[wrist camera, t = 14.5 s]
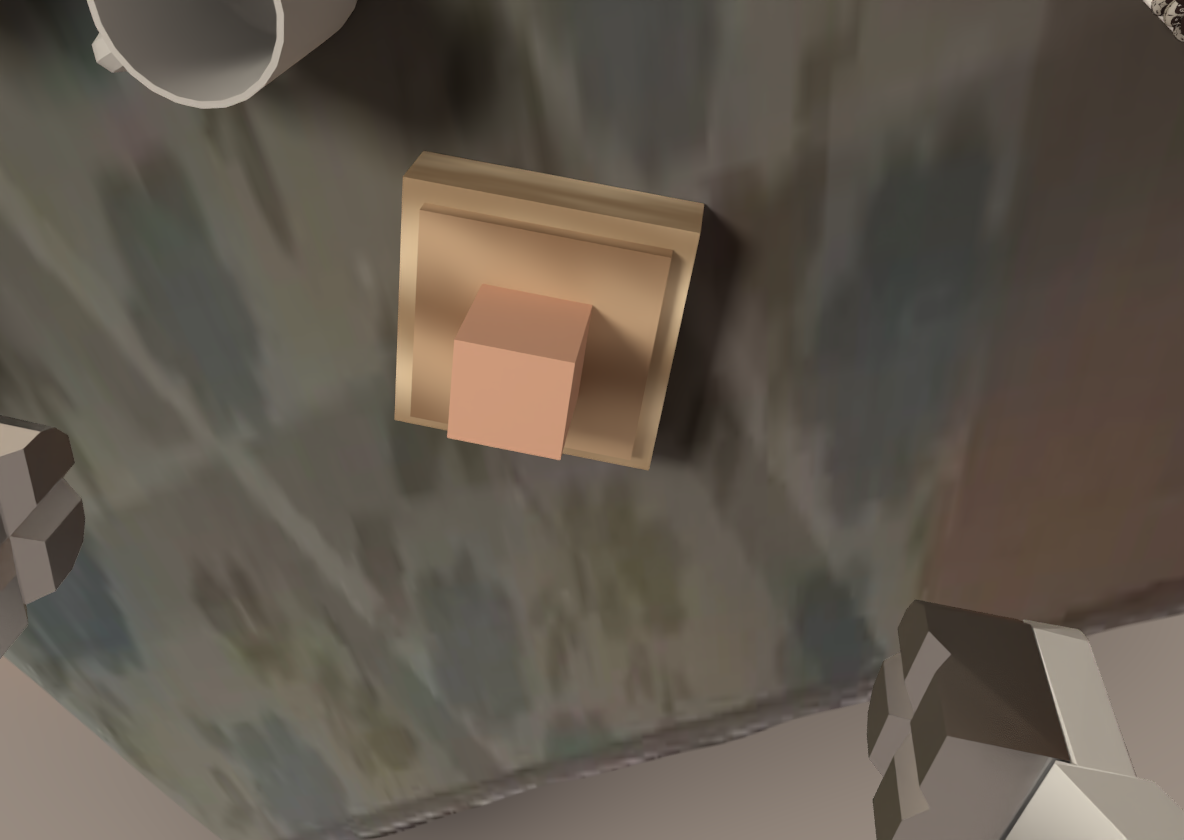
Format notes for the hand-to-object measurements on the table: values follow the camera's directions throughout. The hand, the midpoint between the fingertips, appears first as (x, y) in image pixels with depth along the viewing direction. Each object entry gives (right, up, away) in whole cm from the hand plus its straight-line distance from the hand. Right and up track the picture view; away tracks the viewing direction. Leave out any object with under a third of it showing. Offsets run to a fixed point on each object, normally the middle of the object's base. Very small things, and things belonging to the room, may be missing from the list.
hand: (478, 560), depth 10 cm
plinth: (-1, +7, +41) cm, 41 cm away
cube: (-2, +5, +37) cm, 38 cm away
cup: (-13, +20, +34) cm, 42 cm away
